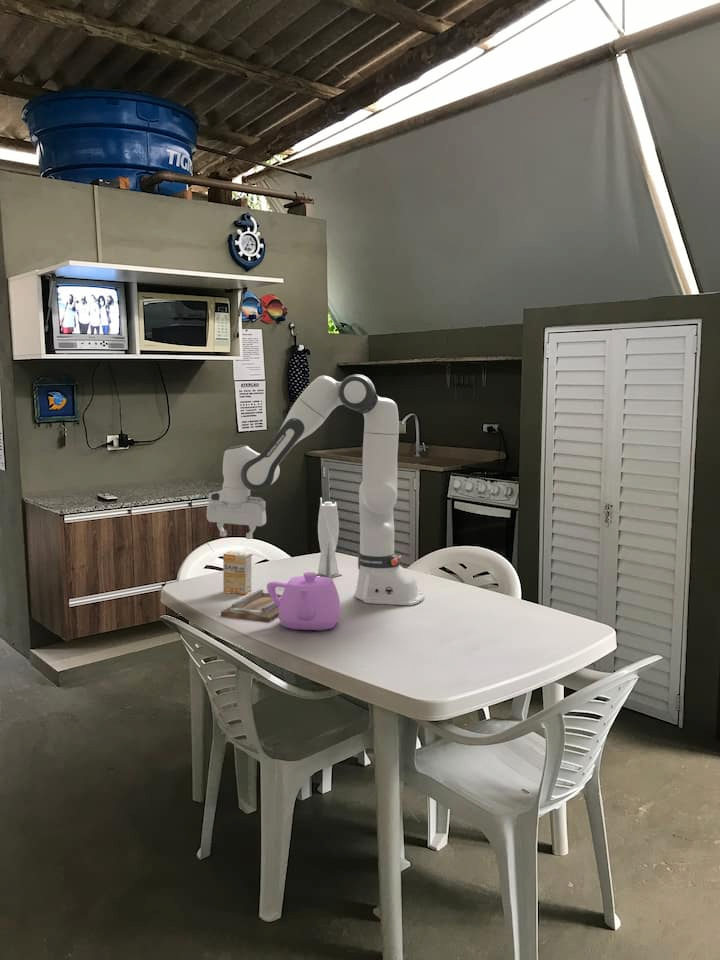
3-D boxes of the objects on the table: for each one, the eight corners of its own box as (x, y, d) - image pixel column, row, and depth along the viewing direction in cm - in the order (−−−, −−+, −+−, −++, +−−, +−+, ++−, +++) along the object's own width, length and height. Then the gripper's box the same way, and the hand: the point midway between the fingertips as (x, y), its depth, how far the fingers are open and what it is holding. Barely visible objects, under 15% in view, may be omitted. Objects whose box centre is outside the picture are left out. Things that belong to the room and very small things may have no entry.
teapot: (272, 614, 229) (272, 565, 227) (343, 617, 227) (343, 567, 225) (255, 639, 206) (255, 584, 204) (334, 642, 204) (334, 587, 202)
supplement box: (222, 593, 252) (222, 553, 250) (229, 589, 256) (229, 550, 255) (245, 595, 249) (245, 555, 248) (252, 591, 254) (251, 552, 252)
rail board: (301, 601, 242) (301, 591, 242) (270, 621, 222) (270, 611, 221) (255, 596, 247) (255, 587, 247) (220, 615, 227) (220, 605, 226)
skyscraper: (311, 575, 276) (311, 497, 273) (326, 571, 282) (326, 495, 279) (328, 579, 271) (329, 500, 267) (343, 575, 277) (344, 497, 274)
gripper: (269, 496, 249) (269, 538, 250) (214, 492, 255) (213, 533, 257) (261, 498, 243) (260, 542, 244) (204, 494, 249) (204, 536, 251)
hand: (236, 537), depth 251 cm, fingers open, 8 cm apart
